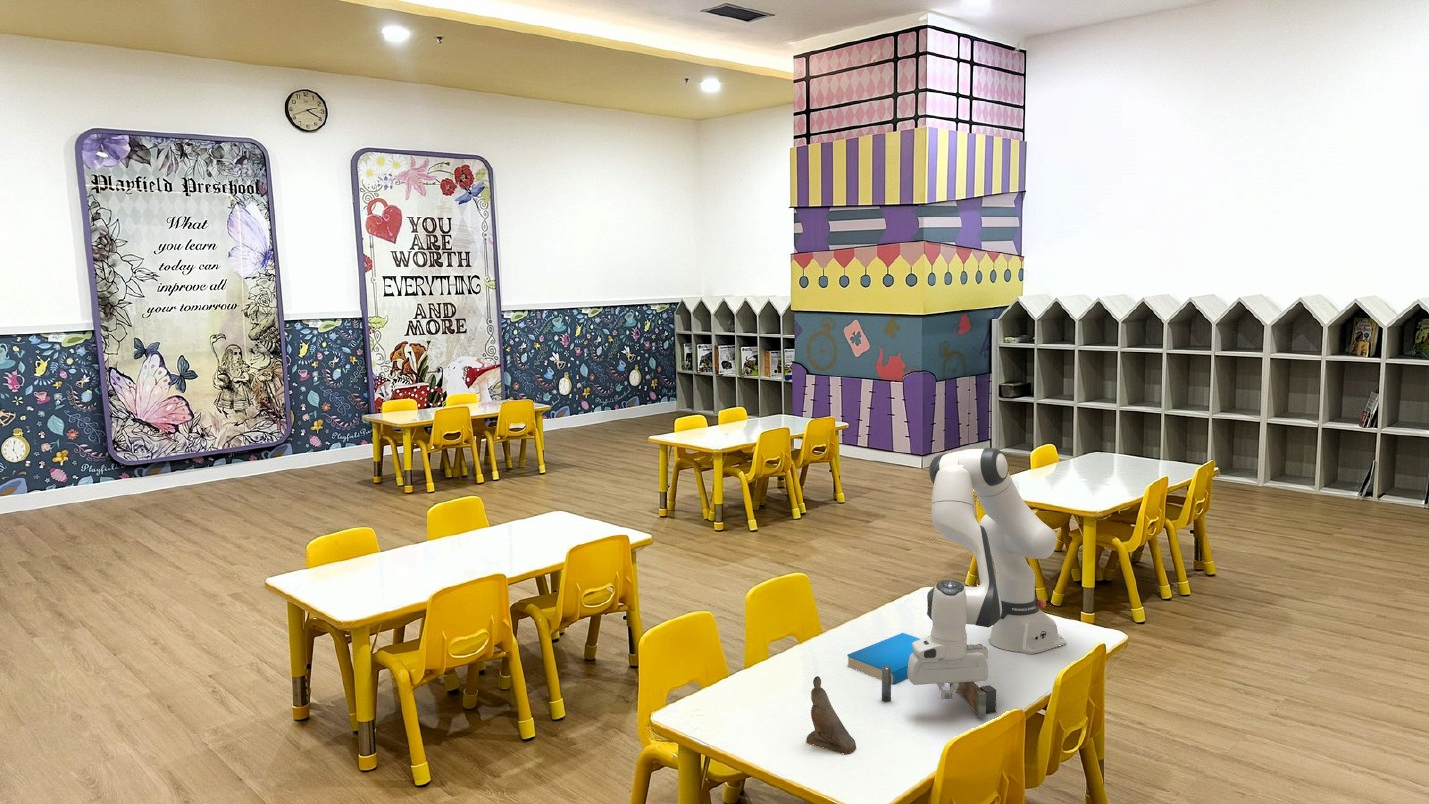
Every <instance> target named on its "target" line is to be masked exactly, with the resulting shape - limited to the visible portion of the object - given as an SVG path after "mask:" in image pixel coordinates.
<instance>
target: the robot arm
mask: <svg viewBox="0 0 1429 804" xmlns="http://www.w3.org/2000/svg"><path fill="white" fill-rule="evenodd" d="M928 472H929V479H930V481H931V483H932V484H933V487H932V493H931V506H930V507H931V509H930V510H931V511H930V512H931V521H932V522H931V523H932V525H933V527H934V529H935V530H936V531H937V532H938V534H940V535H941V536H942V537H944V538H946V539H947V540H949V541H951V542H954V543H956V544H959V545H962V546H963V547H965V548H966V549H969V551H971V552H972V553H973V555H974V556H975V560H976V565H977V566H976V567H977V572H978V577H979V585H978V586H969V585H968V586H967V585H966V586H965V585H964V584H963V583H962V582H960V581H958V580H953V579H944V580H941V581H938V582H937V583H936V584H935V585H934V586H933V587H932V588H931V589H930V590H929V591H928V592H927V596H926V599H927V600H926V602H927V609H926V611H927V612H926V615H927V616H928V618H929V619H930V620H931V621H932V627H931V631H930V635H928V636H926V637H923V638H920V640H917V641H915V642H913V643H912V649H913V651H914V652H913V653H912V654H911V655H910V657H909V662H908V671H907V676H908V678H907V679H908V680H909V682H910V683H911V684H912V685H914V686H917V685H918V686H919V685H921V686H922V685H937V687H938V689H939V690H940V698H941V699H942V700H951V699H955V698H954V697H955V692H957V691H956V689H957V688H958V686H959V682H974V683H976V682H986V680H987V679H988V678H989V666H988V659H989V650H988V648H987V647H986V646H985V645H983V644H980V643H978V644H967V643H968V639H967V638H968V637H967V636H968V635H967V634H968V633H967V629H966V625H973V626H974V625H975V626H976V627H977V626H978V627H982V628H990V627H992V629H991V633H990V636H989V638H988V641H989V643H990V644H991V645H993V646H994V647H997V648H998V649H1001V650H1006V651H1010V652H1018V653H1019V652H1020V653H1023V654H1027V655H1034V653H1035V654H1038V653H1042V652H1044V651H1048V649H1049V650H1052V649H1051V648H1053V649H1055V648H1054V647H1056V648H1058V647H1057V646H1059V645H1063V646H1065V645H1064V644H1066V645H1067V641H1066V639H1065V637H1063V636H1062V635H1061V634H1059V632H1058V631H1059V630H1058V626H1057V623H1056V622H1055V620H1054V619H1052V617H1050V616H1049V615H1047V614H1046V613H1045V612H1043V611H1042V610H1041V609H1040V607H1041V608H1045V607H1046V606H1047V601H1046V600H1043V599H1042V598H1040V599H1038V598H1037V597H1035V595H1036V594H1035V593H1036V591H1035V588H1036V574H1035V572H1034V569H1033V568H1032V567H1031V566H1030V565H1029V563H1028V562H1027V559H1026V558H1028V559H1036V560H1045V559H1048V558H1050V557H1051V556H1052V555H1053V554H1054V552H1055V550H1056V547H1057V542H1058V540H1057V539H1058V538H1057V534H1056V532H1055V530H1054V529H1052V528H1051V527H1050V526H1049V525H1048V524H1046V523H1044V522H1043V521H1042V519H1040V518H1039V517H1038V516H1037V514H1036V513H1035V512H1034V511H1033V510H1032V509H1031V508H1030V507H1029V505H1027V503H1026V502H1025V501H1024V499H1023V498H1022V496H1021V495H1020V493H1019V491H1018V489H1017V487H1016V485H1015V482H1014V481H1013V479H1012V476H1011V474H1010V472H1009V464H1008V459H1007V457H1006V455H1005V454H1004V452H1003V451H1001V450H1000V449H999V448H996V447H995V448H994V447H986V448H970V449H969V448H968V449H966V448H965V449H963V450H958V451H953V452H948V453H947V452H946V453H941V454H938V455H936V456H934V457H933V459H932V460H931V462H930V463H929V468H928ZM974 493H975V496H976V497H977V499H978V501H979V503H980V506H981V508H982V509H983V511H984V513H985V514H984V515H983V516H982V518H981V520H980V522H978V520H977V519H976V516H975V509H974V507H975V504H974V503H975V500H974ZM1037 652H1038V653H1037ZM950 683H951V684H952V685H951V687H950V686H949V688H948V689H944V687H946V686H945V685H946V684H950Z"/></svg>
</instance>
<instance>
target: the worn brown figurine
mask: <svg viewBox="0 0 1429 804" xmlns="http://www.w3.org/2000/svg"><path fill="white" fill-rule="evenodd" d="M812 685H813V688H812V689H811V691H810V694H811V695H810V700H811V702H812V706H811V709H810V716H811V721H812V724H813V728H814V730H813V731H811V732H810V733H809V734H808V735H806V738H805V739H806V742H805V743H807V744H809V743H810V744H809V745H812V744H814V745H813V746H815V745H816V747H820V748H822V747H824V748H823V749H825V748H827V749H826V750H829V751H832V752H836V753H839V754H842V753H844V754H843V755H850V754H852V753H854V752H855V751H856V750H857V743H856V740H855V739H854V738H853V736H851V734H850V733H849V732H848V731H847V728H846V727H845V726H844V724H843V722H842V721H841V719H840V718H839V716H838V714H837V713H836V711H835V709H834V708H833V705H832V703H831V702H830V698H829V696H828V693H827V692H826V690H825V689H824V688H822V678H821V677H820V676H815V677H814V678H813V681H812Z"/></svg>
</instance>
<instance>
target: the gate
mask: <svg viewBox="0 0 1429 804" xmlns="http://www.w3.org/2000/svg"><path fill="white" fill-rule="evenodd" d="M956 690H957V691H956V692H957V693H958V694H959V695H960V696H961V697H962V698H963V700H964V701H965V702H966V703H967V704H968V705H969V706H970V708H971V709H973V711H974V712H975V715H976V716H977V717H978V718H983V717H986V715H987V714H986V693H985V692H984V691H982V690H981V689H980V686H978V685H977V683H976V682H959V686H958V688H957V689H956Z"/></svg>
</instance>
